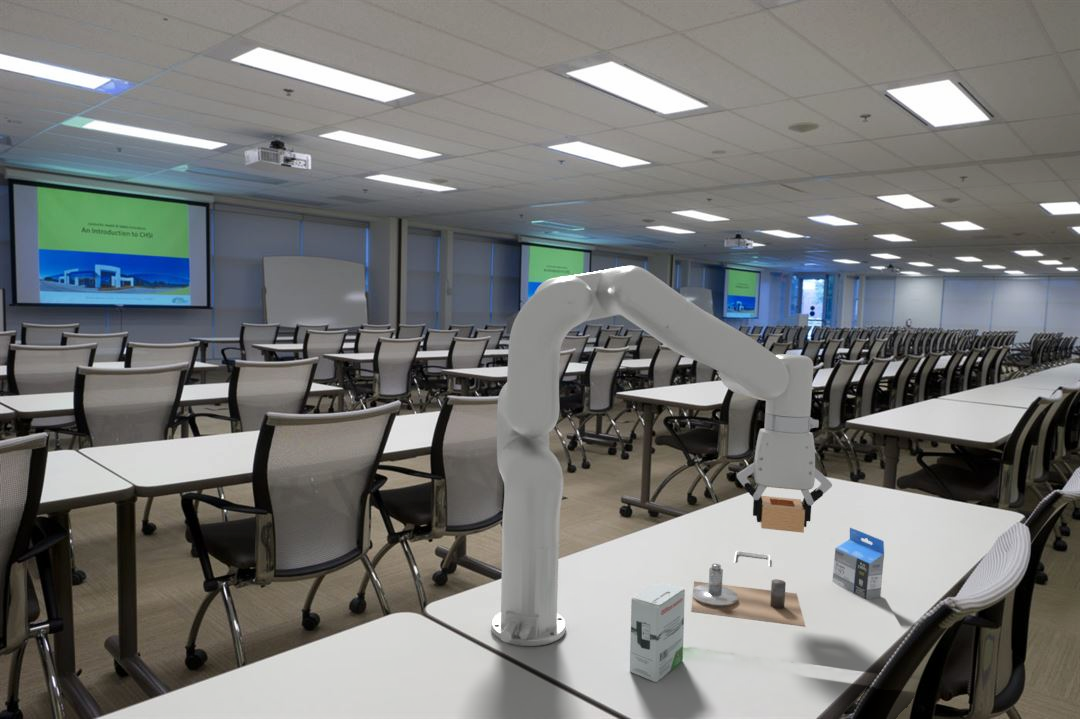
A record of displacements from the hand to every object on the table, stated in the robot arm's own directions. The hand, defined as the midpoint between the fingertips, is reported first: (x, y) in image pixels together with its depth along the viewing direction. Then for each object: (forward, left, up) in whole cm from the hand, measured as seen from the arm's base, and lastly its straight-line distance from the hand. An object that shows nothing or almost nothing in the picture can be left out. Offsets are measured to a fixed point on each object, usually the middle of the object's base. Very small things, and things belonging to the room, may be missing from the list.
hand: (780, 521), depth 126 cm
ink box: (-25, +19, -17) cm, 36 cm away
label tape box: (+13, -16, -17) cm, 27 cm away
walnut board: (0, +5, -17) cm, 18 cm away
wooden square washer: (0, 0, -1) cm, 1 cm away
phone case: (+22, +3, -18) cm, 29 cm away
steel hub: (0, +11, -16) cm, 19 cm away
